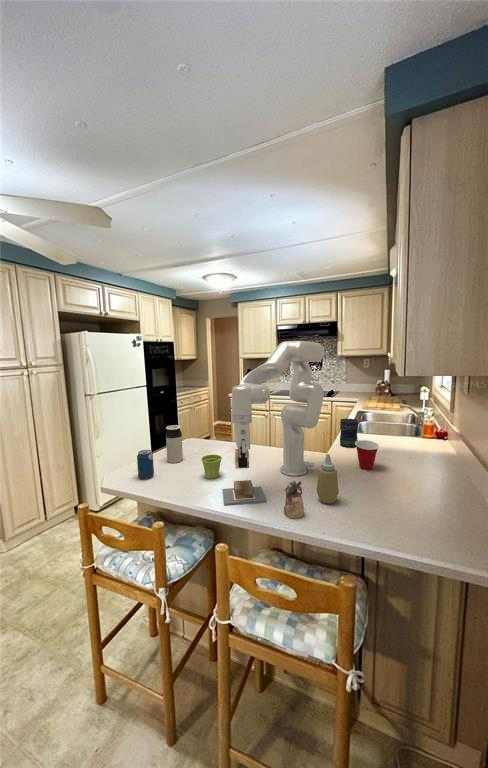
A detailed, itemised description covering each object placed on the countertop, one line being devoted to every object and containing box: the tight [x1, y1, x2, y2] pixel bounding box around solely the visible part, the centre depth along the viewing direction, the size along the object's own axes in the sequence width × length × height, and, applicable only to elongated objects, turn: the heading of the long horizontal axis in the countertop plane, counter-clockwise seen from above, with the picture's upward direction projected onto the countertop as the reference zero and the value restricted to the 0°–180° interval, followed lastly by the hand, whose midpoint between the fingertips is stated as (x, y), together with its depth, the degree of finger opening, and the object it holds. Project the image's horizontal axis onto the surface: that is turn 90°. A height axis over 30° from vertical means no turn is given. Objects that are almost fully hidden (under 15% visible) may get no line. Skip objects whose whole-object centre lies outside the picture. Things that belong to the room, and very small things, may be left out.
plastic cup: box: [355, 439, 380, 471], centre depth 146 cm, size 11×11×12 cm
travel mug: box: [165, 424, 184, 464], centre depth 160 cm, size 8×8×18 cm
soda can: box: [136, 449, 155, 480], centre depth 141 cm, size 7×7×12 cm
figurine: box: [283, 480, 305, 520], centre depth 108 cm, size 7×7×12 cm
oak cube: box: [234, 448, 250, 470], centre depth 119 cm, size 5×5×6 cm
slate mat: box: [222, 485, 267, 506], centre depth 121 cm, size 16×12×1 cm
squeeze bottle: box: [316, 453, 340, 505], centre depth 116 cm, size 8×8×18 cm
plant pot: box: [200, 454, 223, 480], centre depth 140 cm, size 9×9×9 cm
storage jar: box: [339, 418, 359, 449], centre depth 179 cm, size 10×10×15 cm
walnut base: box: [233, 479, 254, 499], centre depth 121 cm, size 7×7×4 cm
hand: (241, 464), depth 119 cm, fingers closed on oak cube, 5 cm apart
